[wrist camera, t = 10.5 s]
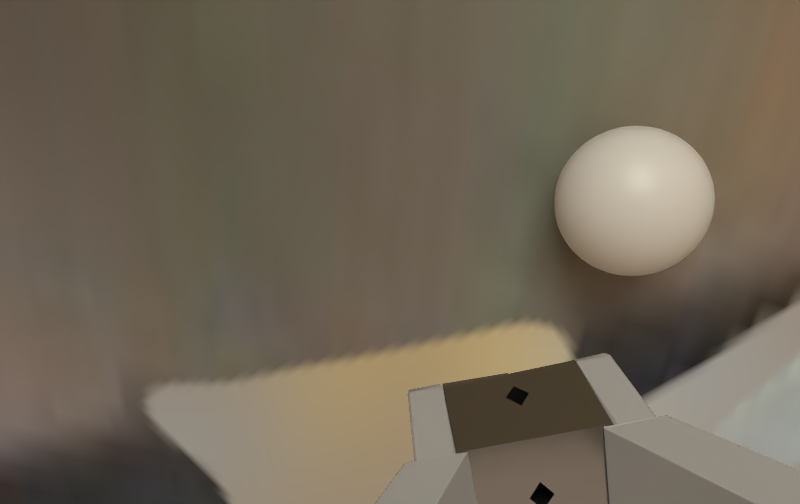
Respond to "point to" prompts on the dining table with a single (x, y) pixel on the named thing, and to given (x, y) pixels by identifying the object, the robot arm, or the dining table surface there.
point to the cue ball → (634, 200)
